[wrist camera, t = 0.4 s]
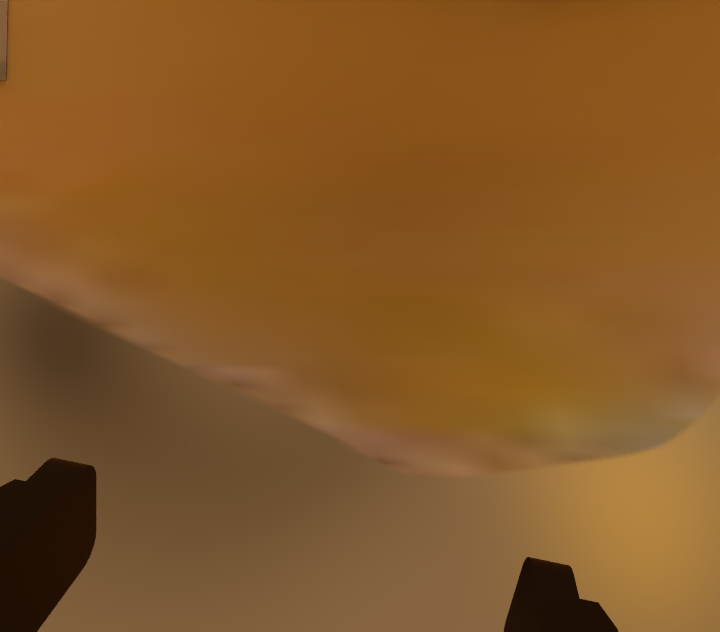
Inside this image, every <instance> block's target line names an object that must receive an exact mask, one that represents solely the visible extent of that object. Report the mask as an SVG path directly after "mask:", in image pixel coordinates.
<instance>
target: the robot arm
mask: <svg viewBox="0 0 720 632" xmlns="http://www.w3.org/2000/svg"><path fill="white" fill-rule="evenodd" d="M95 538H96V471H95V469H94V467H93V466H91V465H86V464H81V463H76V462H72V461H66V460H62V459H57V458H51V459H49V460H47V461H46V462H45V463H44V464H43V465H42V466H41V467H40V468H39V469H38V470H37V471H36V472H35V473H34V474H33V475H32V476H31V477H30V478H29V479H28V480H27V481H21V480H16V479H15V480H13V481H11V482H9V483H7V484H5V485H3V486H1V487H0V632H37V631H38V629H39V628H40V627H41V626H42V624H43V622H44V621H45V620H46V619H47V617H48V616H49V615H50V613H51V612H52V610H53V609H54V608H55V606H56V605H57V603H58V602H59V601H60V599H61V598H62V597H63V595H64V594H65V592H66V591H67V590H68V588H69V587H70V586H71V584H72V583H73V582H74V580H75V579H76V577H77V576H78V575H79V573H80V572H81V571H82V569H83V568H84V566H85V565H86V563H87V561H88V559H89V557H90V555H91V552H92V549H93V546H94V543H95ZM504 632H618V629H617V628H616V626H615V625H614V624H613V622H612V621H611V620H610V618H609V617H608V616H607V614H606V613H605V611H604V610H603V609H602V607H601V606H600V604H599V603H597V602H592V601H588V600H583V599H579V595H578V591H577V586H576V582H575V578H574V574H573V571H572V568H571V567H570V566H569V565H564V564H560V563H554V562H550V561H545V560H540V559H535V558H531V557H527V558H526V560H525V561H524V563H523V566H522V570H521V573H520V576H519V579H518V583H517V586H516V589H515V592H514V596H513V599H512V602H511V605H510V609H509V612H508V616H507V619H506V622H505V627H504Z"/></svg>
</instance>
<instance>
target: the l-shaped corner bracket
mask: <svg viewBox="0 0 720 632" xmlns="http://www.w3.org/2000/svg"><path fill="white" fill-rule="evenodd" d="M7 18H8V0H0V80H6V55H7Z"/></svg>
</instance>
